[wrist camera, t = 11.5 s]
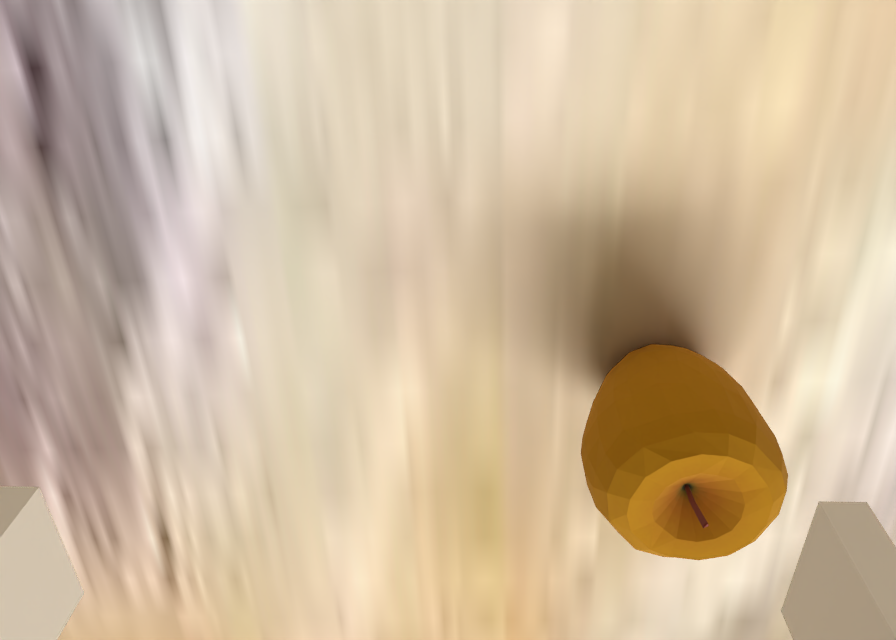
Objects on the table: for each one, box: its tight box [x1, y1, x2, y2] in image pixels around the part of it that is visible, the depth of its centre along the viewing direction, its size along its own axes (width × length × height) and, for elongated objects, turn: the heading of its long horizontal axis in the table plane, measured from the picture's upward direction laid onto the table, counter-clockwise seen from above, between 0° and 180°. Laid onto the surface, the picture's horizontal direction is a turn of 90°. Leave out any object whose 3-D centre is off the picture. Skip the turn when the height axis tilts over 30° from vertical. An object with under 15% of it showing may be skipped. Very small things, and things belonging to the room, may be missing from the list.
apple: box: [581, 344, 788, 560], centre depth 43 cm, size 11×11×13 cm
